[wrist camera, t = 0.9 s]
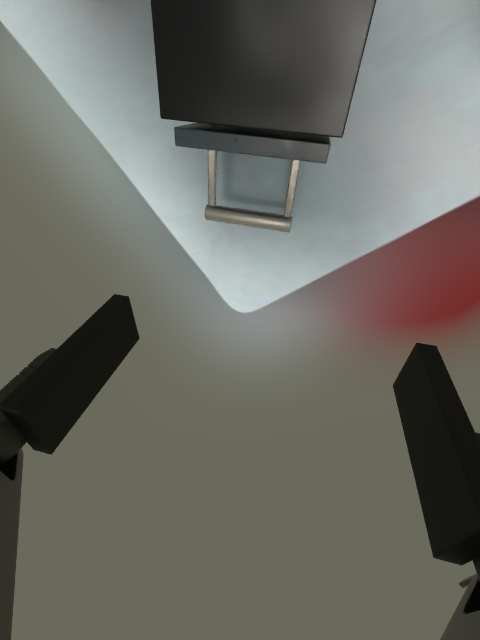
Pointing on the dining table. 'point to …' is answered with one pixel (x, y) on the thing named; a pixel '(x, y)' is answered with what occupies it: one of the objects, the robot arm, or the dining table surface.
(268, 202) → the dining table surface
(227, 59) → the black drawer cabinet
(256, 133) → the pull-out drawer box
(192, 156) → the dining table surface
